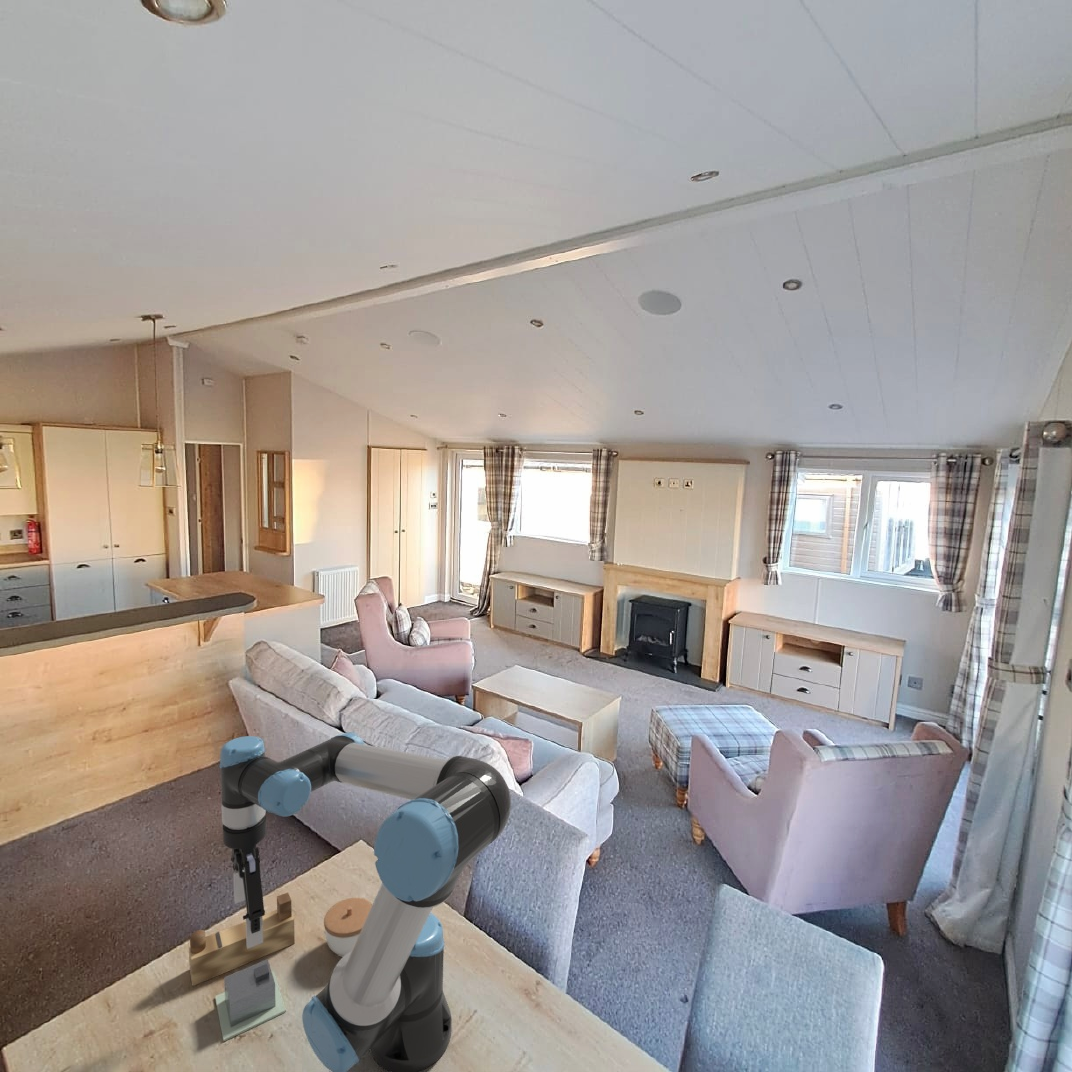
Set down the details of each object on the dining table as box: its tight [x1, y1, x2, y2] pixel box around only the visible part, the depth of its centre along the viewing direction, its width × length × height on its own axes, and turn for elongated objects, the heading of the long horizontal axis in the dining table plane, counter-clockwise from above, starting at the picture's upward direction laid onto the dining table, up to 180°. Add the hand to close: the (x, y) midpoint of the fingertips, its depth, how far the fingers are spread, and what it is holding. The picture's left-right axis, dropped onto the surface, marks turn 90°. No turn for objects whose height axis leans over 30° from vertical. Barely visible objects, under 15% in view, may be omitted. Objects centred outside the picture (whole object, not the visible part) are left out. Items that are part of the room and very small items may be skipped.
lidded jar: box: [323, 897, 373, 957], centre depth 132 cm, size 11×11×9 cm
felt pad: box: [214, 970, 287, 1042], centre depth 118 cm, size 11×11×1 cm
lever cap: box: [223, 958, 276, 1027], centre depth 118 cm, size 7×8×6 cm
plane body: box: [188, 892, 296, 987], centre depth 129 cm, size 20×5×10 cm, turn 125°
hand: (248, 921), depth 116 cm, fingers open, 13 cm apart
